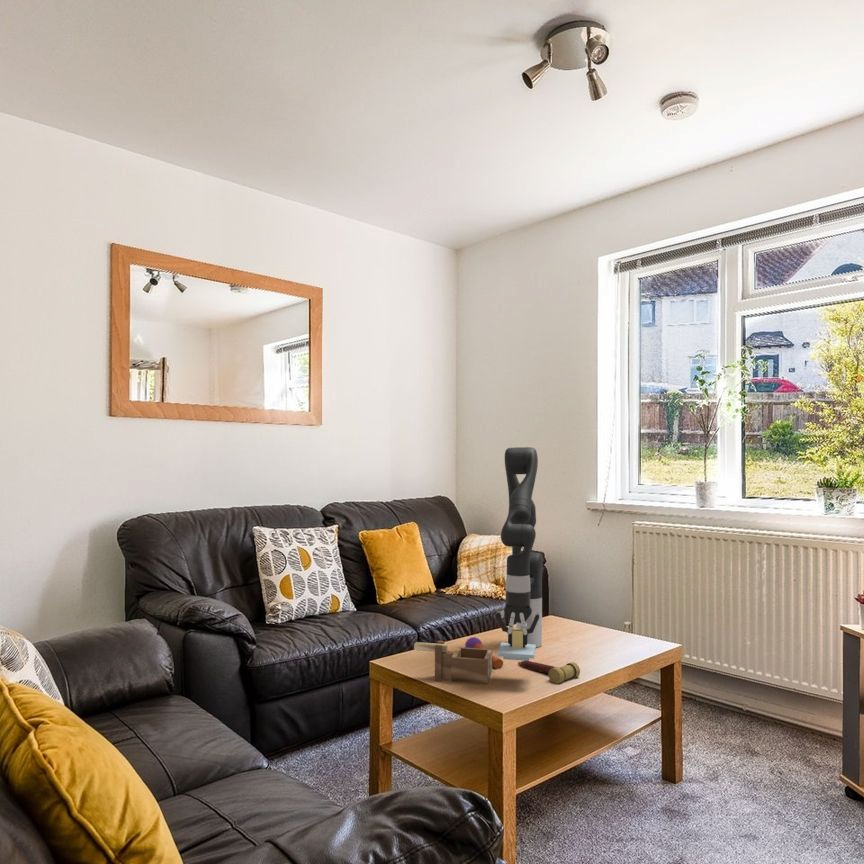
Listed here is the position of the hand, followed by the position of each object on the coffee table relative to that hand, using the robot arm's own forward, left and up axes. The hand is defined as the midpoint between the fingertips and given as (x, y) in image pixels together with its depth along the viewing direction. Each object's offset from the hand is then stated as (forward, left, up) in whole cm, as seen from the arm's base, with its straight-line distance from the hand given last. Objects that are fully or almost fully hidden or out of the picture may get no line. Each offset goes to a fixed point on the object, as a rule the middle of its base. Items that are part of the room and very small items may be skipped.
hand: (517, 645), depth 205 cm
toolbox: (+1, -16, -10) cm, 19 cm away
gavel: (-9, +8, -11) cm, 16 cm away
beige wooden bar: (+4, -26, -2) cm, 27 cm away
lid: (+3, 0, -2) cm, 4 cm away
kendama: (-17, -13, -11) cm, 24 cm away
